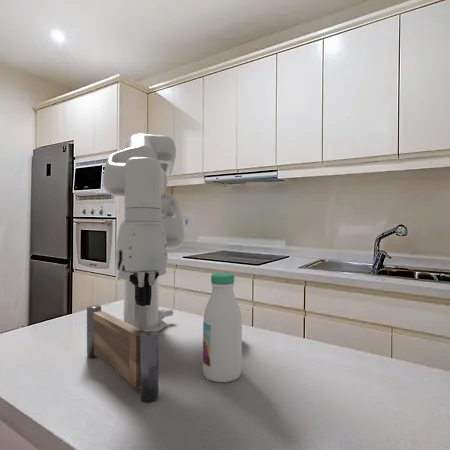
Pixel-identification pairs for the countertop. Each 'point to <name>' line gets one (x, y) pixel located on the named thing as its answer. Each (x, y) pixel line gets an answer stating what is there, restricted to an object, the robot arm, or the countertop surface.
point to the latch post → (149, 366)
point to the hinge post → (91, 330)
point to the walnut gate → (118, 346)
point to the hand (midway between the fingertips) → (143, 304)
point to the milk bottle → (222, 331)
